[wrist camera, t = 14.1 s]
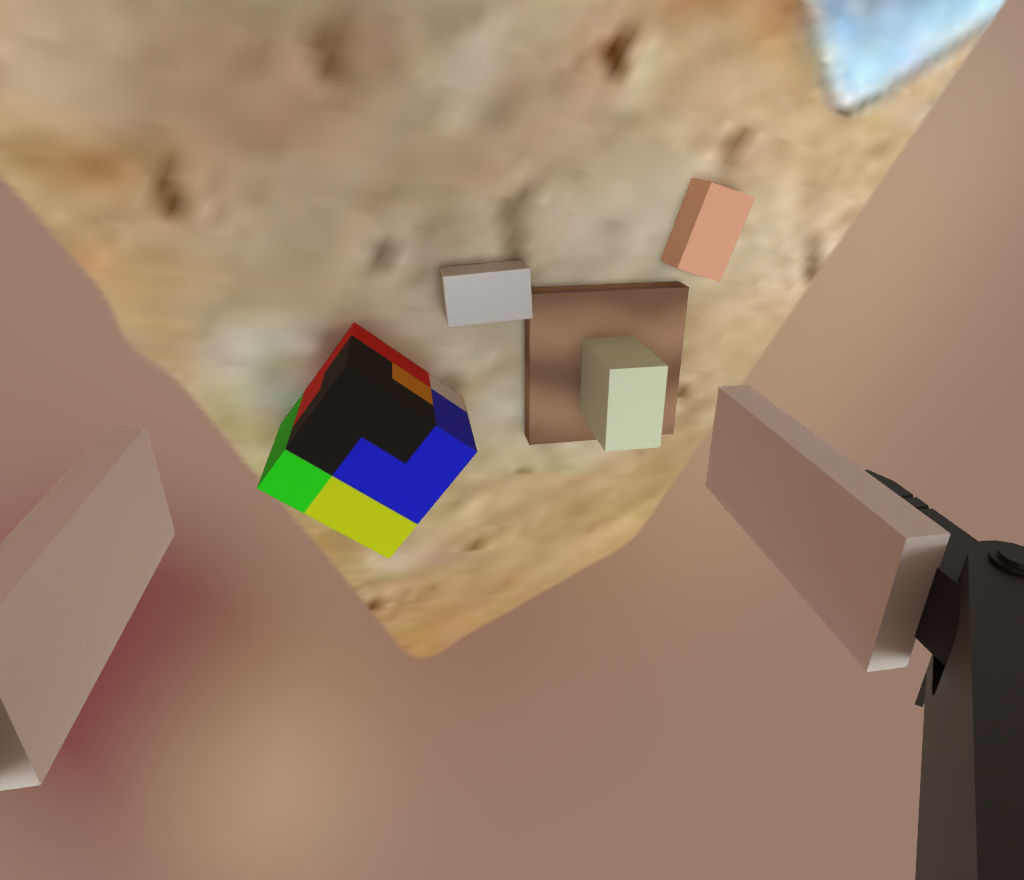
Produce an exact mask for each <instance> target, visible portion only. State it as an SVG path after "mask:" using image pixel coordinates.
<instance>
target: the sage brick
mask: <svg viewBox="0 0 1024 880" xmlns="http://www.w3.org/2000/svg"><path fill="white" fill-rule="evenodd" d="M667 373H668V365H667V364H666V363H664V362H663V361H662V360H661V359H660V358H659V357H658V356H656V355H655V354H654V353H653V352H652V351H651V350H650V349H648V348H647V347H646V346H645V345H644V344H643V343H642V342H640V341H639V340H638V339H637V338H636V337H635V336H622V337H604V338H586V339H583V343H582V368H581V394H580V414H581V415H582V417H583V418H584V420H585V421H586V423H587V424H588V426H589V427H590V429H591V431H592V432H593V434H594V435H595V437H596V438H597V440H598V441H599V443H600V444H601V446H602V447H603V449H604V451H617V450H630V449H642V448H654V447H660V444H661V434H662V424H663V413H664V403H665V393H666V383H667Z"/></svg>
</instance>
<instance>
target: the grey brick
mask: <svg viewBox="0 0 1024 880" xmlns="http://www.w3.org/2000/svg"><path fill="white" fill-rule="evenodd" d="M440 274H441V283H442V292H443V301H444V311H445V317H446V320H447V324H448V327H455V326H464V325H473V324H483V323H492V322H501V321H511V320H520V319H529V318H533V315H532V295H531V275H530V268H529V267H528V266H527V264H526V263H525V262H524V261H523V260H522V259H521V260H511V261H501V262H490V263H480V264H469V265H459V266H449V267H440Z"/></svg>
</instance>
